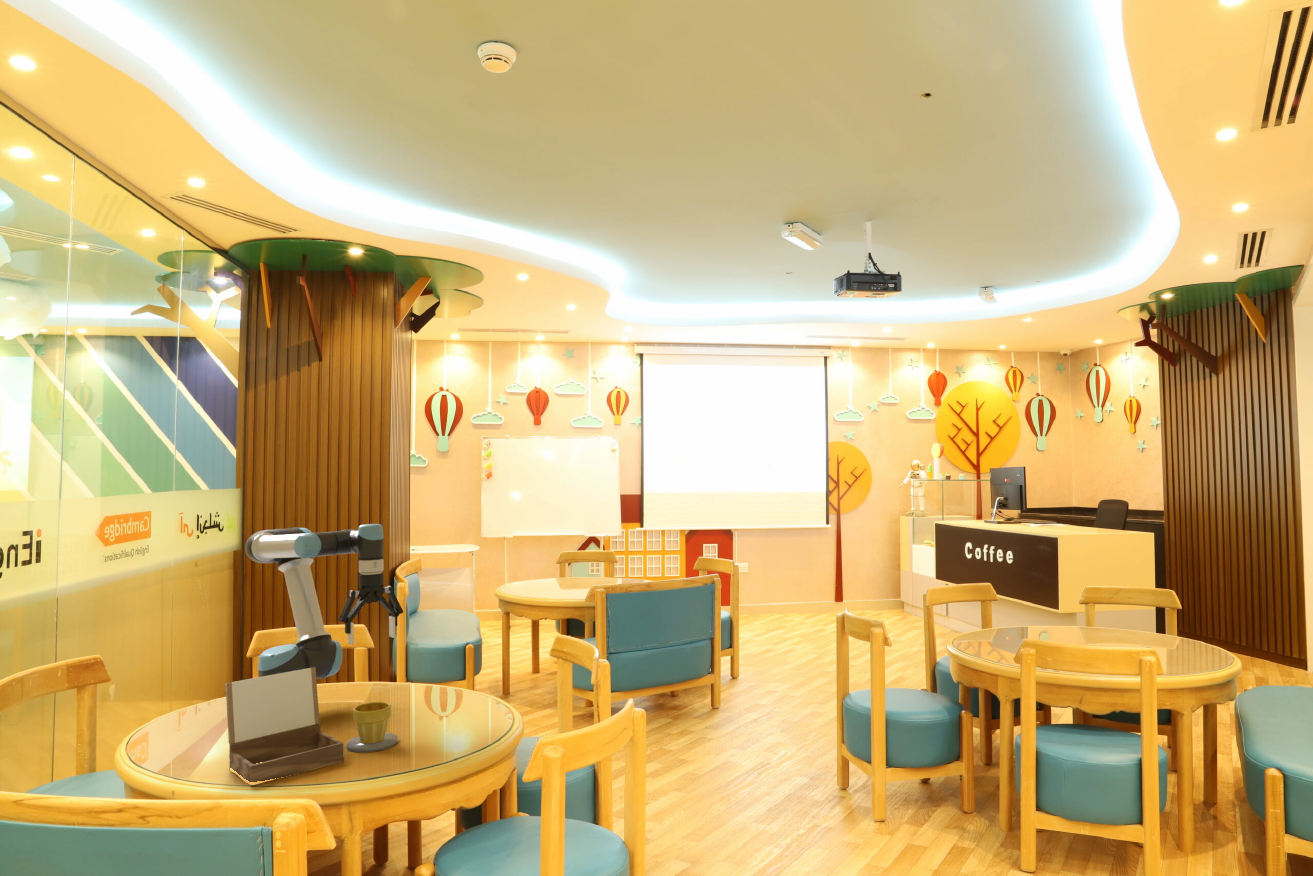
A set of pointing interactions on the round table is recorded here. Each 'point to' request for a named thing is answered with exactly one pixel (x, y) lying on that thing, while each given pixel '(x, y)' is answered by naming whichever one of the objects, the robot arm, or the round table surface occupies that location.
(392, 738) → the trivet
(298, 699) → the lid
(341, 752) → the cold frame
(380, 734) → the plant pot
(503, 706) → the round table surface
